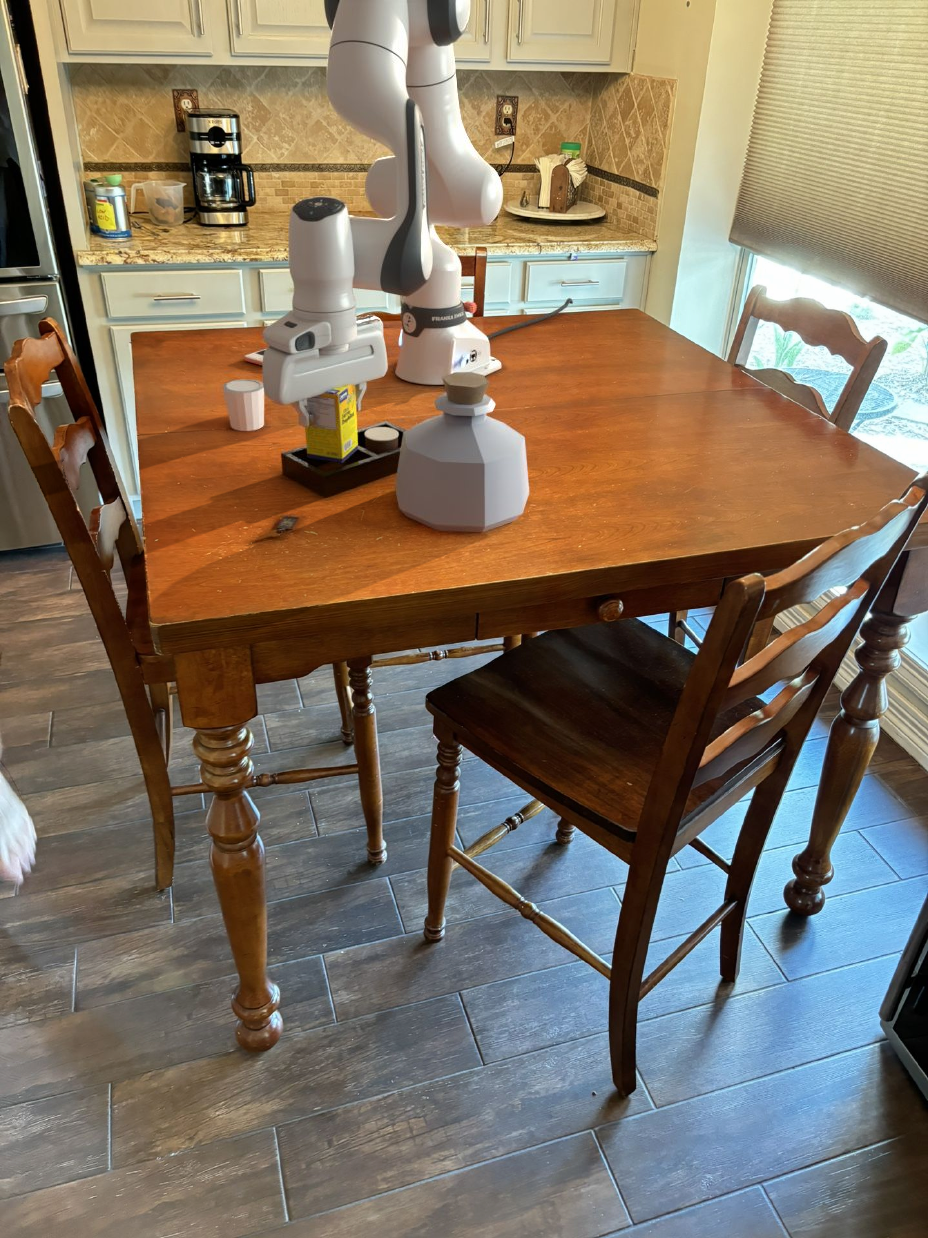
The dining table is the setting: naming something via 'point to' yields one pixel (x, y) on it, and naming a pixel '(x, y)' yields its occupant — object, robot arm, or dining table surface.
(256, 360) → the cell phone
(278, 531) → the key tag
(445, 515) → the bottle
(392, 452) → the tray
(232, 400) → the shot glass
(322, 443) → the supplement box
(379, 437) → the cylinder
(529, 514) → the dining table surface
